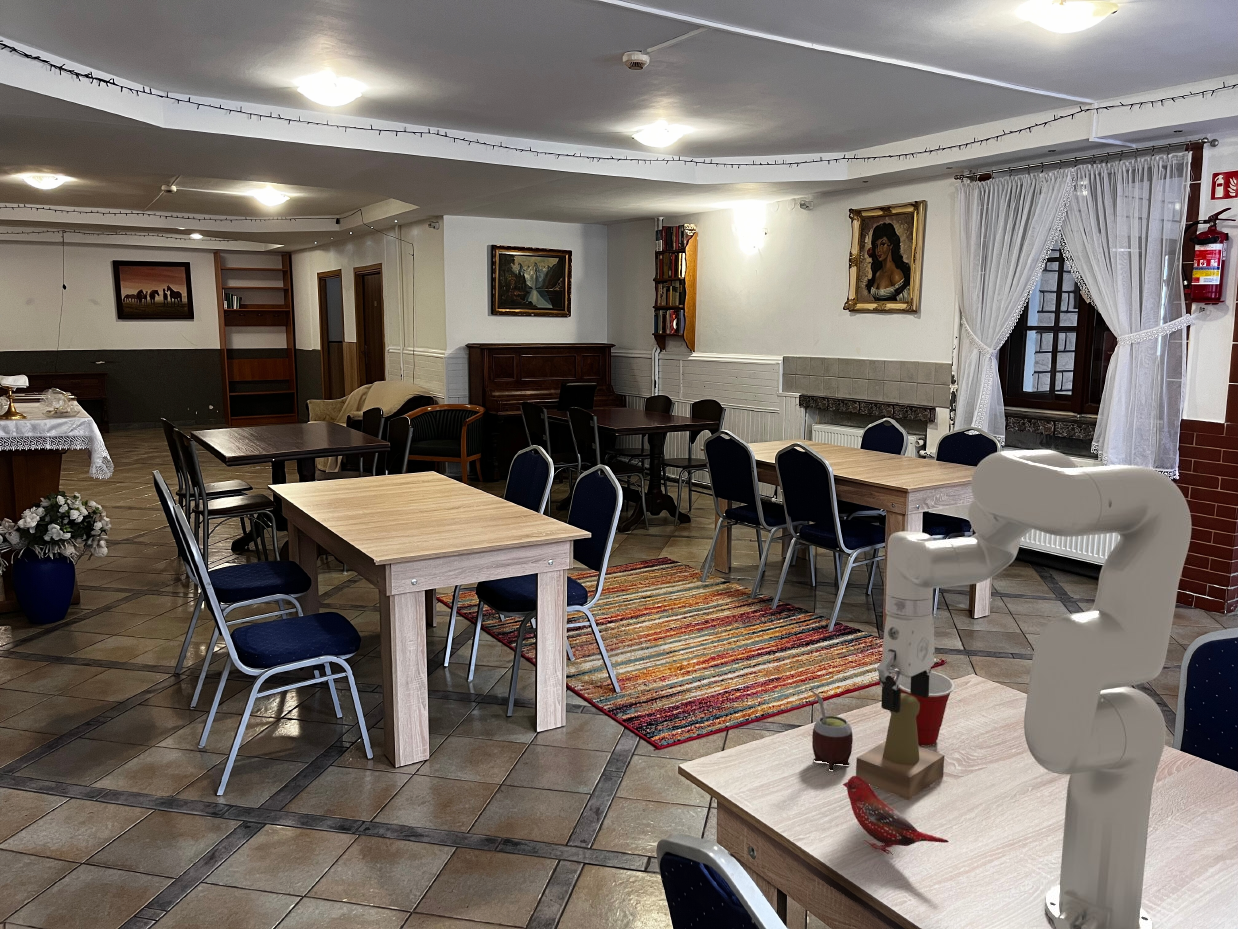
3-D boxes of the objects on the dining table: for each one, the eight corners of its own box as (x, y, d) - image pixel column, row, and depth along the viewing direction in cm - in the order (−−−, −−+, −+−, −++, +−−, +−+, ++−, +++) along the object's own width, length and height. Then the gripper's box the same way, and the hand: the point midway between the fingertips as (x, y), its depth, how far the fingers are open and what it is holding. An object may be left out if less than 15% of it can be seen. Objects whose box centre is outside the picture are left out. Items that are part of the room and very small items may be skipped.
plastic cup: (890, 748, 172) (893, 686, 170) (891, 725, 182) (894, 667, 180) (952, 756, 169) (956, 693, 167) (949, 732, 179) (953, 673, 177)
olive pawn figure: (921, 766, 156) (924, 704, 154) (884, 762, 157) (887, 701, 156) (917, 751, 162) (921, 691, 160) (882, 747, 163) (884, 688, 161)
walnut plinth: (908, 800, 152) (909, 777, 152) (855, 779, 160) (856, 757, 159) (943, 776, 161) (944, 755, 160) (891, 758, 168) (892, 737, 167)
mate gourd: (851, 757, 168) (855, 678, 166) (851, 777, 160) (854, 695, 158) (809, 752, 170) (812, 674, 168) (807, 772, 162) (810, 690, 160)
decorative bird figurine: (846, 828, 143) (848, 768, 142) (951, 879, 130) (955, 812, 129) (834, 835, 142) (837, 773, 140) (941, 886, 128) (945, 819, 127)
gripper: (903, 619, 147) (899, 722, 149) (953, 600, 159) (949, 695, 161) (861, 610, 152) (858, 710, 154) (913, 592, 164) (910, 684, 166)
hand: (905, 702), depth 158 cm, fingers open, 9 cm apart
